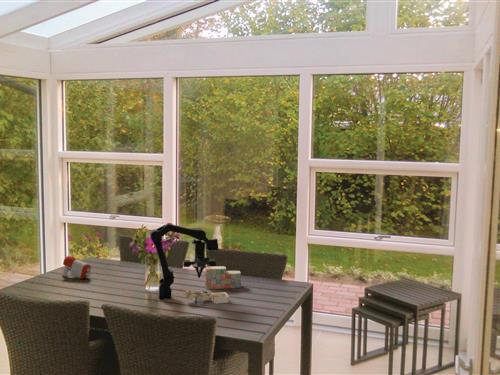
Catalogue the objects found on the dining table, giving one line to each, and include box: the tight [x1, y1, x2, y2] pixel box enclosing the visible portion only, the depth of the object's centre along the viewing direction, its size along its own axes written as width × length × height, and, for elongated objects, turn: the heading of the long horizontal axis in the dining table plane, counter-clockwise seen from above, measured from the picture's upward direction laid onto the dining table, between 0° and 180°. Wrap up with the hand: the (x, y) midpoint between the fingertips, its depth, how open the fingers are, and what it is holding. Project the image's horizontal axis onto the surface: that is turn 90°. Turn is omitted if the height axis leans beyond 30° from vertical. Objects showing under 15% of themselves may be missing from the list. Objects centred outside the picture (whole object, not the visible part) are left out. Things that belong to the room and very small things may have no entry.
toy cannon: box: [61, 255, 92, 281], centre depth 328 cm, size 6×20×14 cm, turn 69°
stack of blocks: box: [204, 265, 242, 290], centre depth 316 cm, size 21×6×12 cm, turn 99°
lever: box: [184, 288, 212, 302], centre depth 290 cm, size 14×14×3 cm
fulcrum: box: [191, 296, 205, 306], centre depth 287 cm, size 5×9×4 cm, turn 16°
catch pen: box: [210, 291, 230, 305], centre depth 290 cm, size 9×9×3 cm
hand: (198, 277), depth 298 cm, fingers closed
